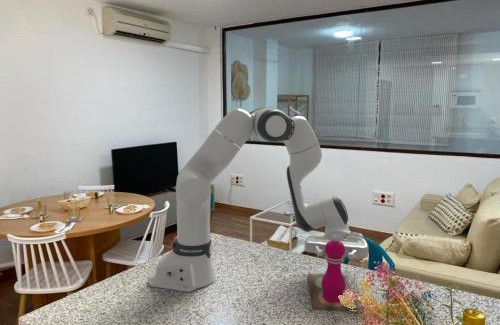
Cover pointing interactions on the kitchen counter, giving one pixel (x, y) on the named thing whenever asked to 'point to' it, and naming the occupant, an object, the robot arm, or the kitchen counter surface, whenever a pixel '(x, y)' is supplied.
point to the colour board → (317, 295)
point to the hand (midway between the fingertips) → (335, 255)
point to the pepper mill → (333, 271)
